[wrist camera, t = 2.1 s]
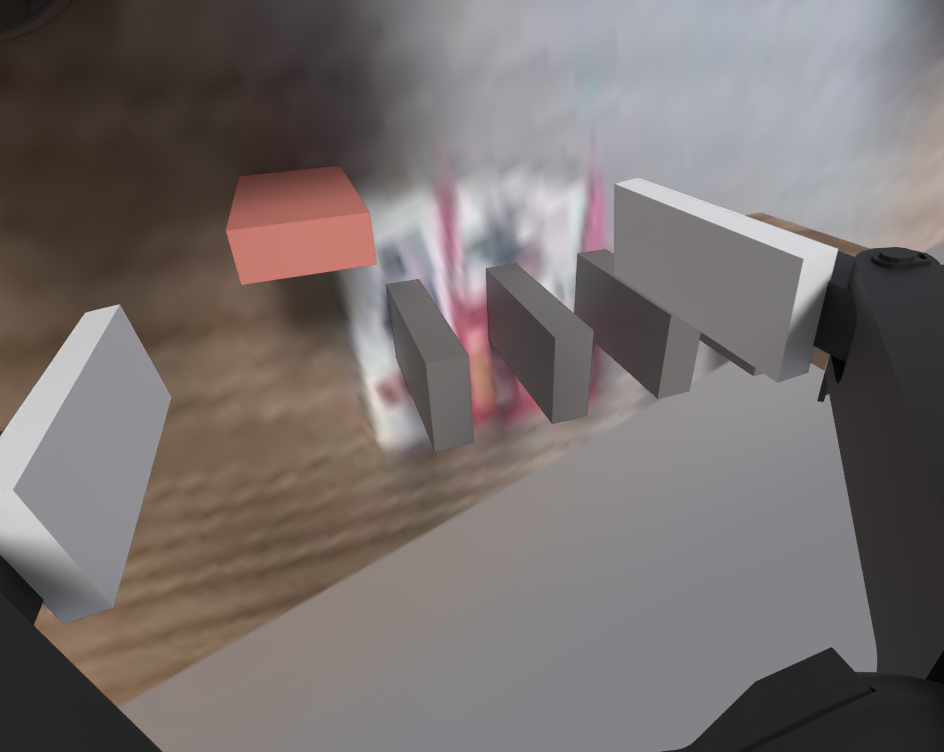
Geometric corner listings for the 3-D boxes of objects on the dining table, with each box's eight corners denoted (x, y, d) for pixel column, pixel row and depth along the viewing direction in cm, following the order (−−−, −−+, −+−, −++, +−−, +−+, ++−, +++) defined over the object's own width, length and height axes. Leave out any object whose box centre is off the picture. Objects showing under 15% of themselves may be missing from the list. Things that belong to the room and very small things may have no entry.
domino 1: (396, 357, 42) (435, 451, 32) (386, 284, 39) (425, 364, 29) (426, 351, 42) (474, 442, 33) (419, 279, 39) (469, 355, 29)
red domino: (346, 204, 35) (376, 264, 25) (249, 216, 34) (241, 284, 24) (340, 165, 34) (369, 212, 24) (239, 176, 32) (225, 231, 23)
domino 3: (573, 323, 45) (657, 398, 35) (577, 253, 42) (671, 315, 32) (599, 318, 46) (689, 391, 36) (605, 249, 43) (705, 308, 33)
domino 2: (488, 339, 44) (552, 424, 34) (486, 268, 40) (555, 338, 31) (516, 334, 44) (587, 415, 34) (516, 263, 41) (593, 330, 31)
